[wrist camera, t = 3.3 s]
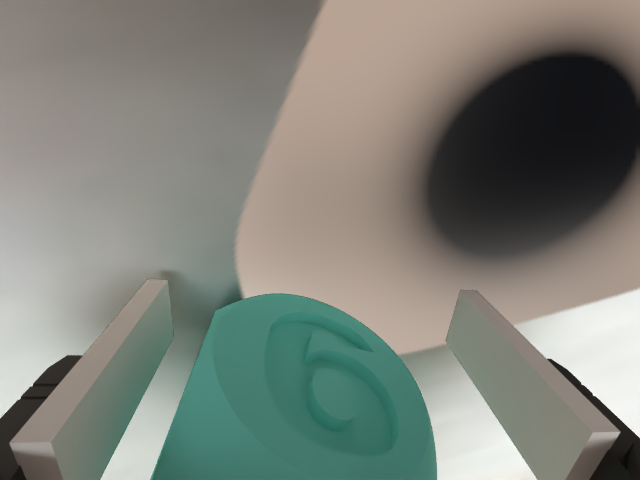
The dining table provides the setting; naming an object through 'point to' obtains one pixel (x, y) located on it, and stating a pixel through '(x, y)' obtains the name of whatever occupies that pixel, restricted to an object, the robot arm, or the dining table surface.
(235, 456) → the decorative dice
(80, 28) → the dining table surface
